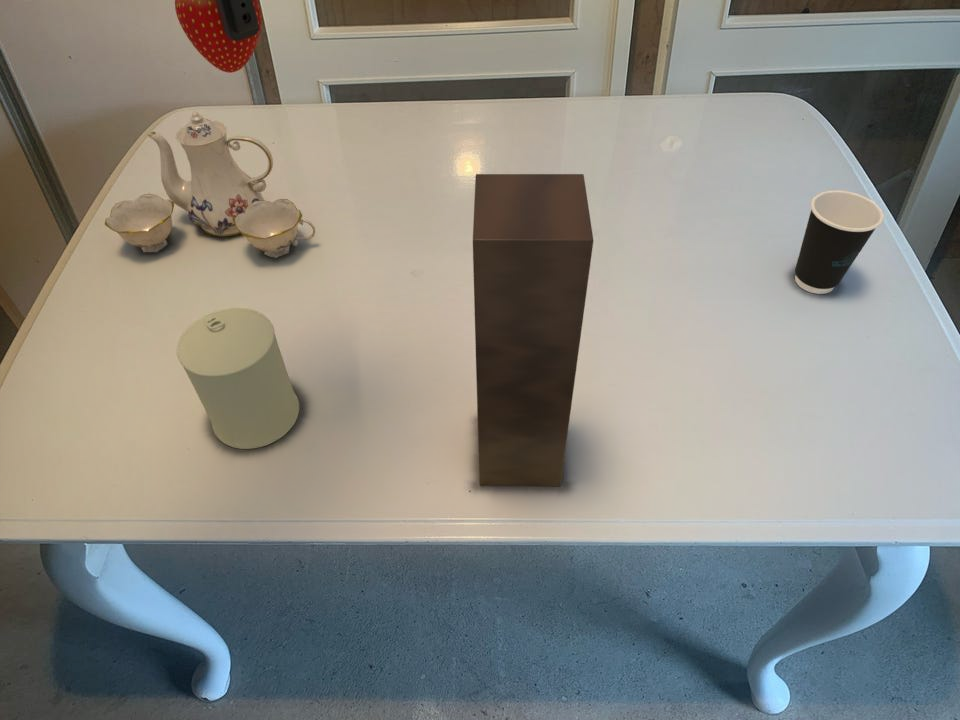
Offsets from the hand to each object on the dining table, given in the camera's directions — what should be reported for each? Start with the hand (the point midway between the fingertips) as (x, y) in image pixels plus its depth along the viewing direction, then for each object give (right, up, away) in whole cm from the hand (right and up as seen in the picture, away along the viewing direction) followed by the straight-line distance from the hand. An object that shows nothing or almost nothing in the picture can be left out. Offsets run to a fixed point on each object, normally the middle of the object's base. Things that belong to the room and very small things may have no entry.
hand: (221, 23), depth 47 cm
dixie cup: (+61, -13, +40) cm, 74 cm away
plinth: (+22, -33, +23) cm, 45 cm away
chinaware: (-18, -5, +49) cm, 53 cm away
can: (-6, -29, +27) cm, 40 cm away
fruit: (0, -2, +3) cm, 4 cm away
